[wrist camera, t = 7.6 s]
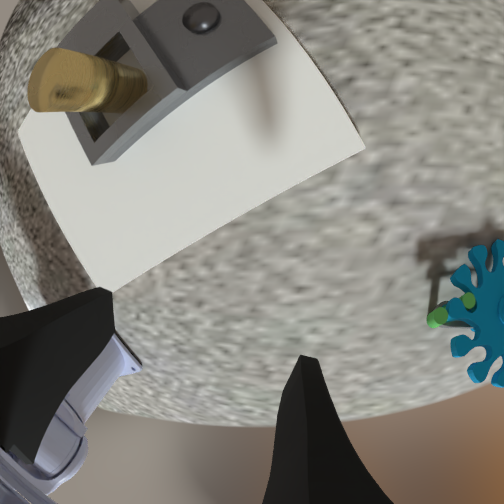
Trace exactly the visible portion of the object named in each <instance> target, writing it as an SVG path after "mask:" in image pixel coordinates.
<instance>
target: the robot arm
mask: <svg viewBox="0 0 504 504" xmlns="http://www.w3.org/2000/svg"><path fill="white" fill-rule="evenodd" d="M141 370H142V366H141V365H140V364H139V362H138V361H137V360H136V359H135V358H134V357H133V355H132V354H131V353H130V352H129V351H128V349H127V348H126V347H125V346H124V345H123V343H122V342H121V341H120V340H119V338H118V337H117V336H116V335H115V325H114V313H113V299H112V292H111V291H109V290H107V289H104V288H102V287H97V288H94V289H90V290H88V291H85V292H82V293H79V294H76V295H74V296H71V297H68V298H66V299H63V300H60V301H57V302H55V303H52V304H49V305H46V306H43V307H39V308H36V309H33V310H30V311H27V312H23V313H19V314H15V315H11V316H6V317H0V504H30V503H28V502H27V500H28V501H30V502H31V503H32V504H58V503H56V502H55V501H54V500H52V499H51V498H49V497H48V496H47V495H49V494H50V493H51V492H54V491H55V490H56V488H58V486H60V485H61V484H62V483H63V482H65V481H67V480H69V479H70V478H72V477H73V476H74V475H75V474H76V473H77V471H78V470H79V469H80V467H81V466H82V464H83V463H84V461H85V459H86V456H87V453H88V441H87V438H86V437H85V436H84V434H85V432H86V431H87V427H86V426H84V423H85V422H86V420H87V419H88V418H89V416H90V415H91V414H92V412H93V411H94V410H95V408H96V407H97V405H98V404H99V403H100V401H101V400H102V399H103V397H104V396H105V394H106V393H107V392H108V390H109V389H110V388H111V386H112V385H113V384H114V382H115V381H116V380H117V378H118V377H120V376H124V375H128V374H132V373H136V372H140V371H141ZM15 490H17V491H18V492H19V493H20V494H21V495H22V496H24V497H25V498H26V499H27V500H25V498H23V497H22V496H21V495H20V494H19V493H17V492H16V491H15ZM262 504H394V503H393V502H392V501H391V500H390V499H389V498H388V497H387V496H386V495H385V493H384V492H383V491H382V489H381V488H380V487H379V485H378V484H377V483H376V481H375V480H374V479H373V478H372V476H371V475H370V473H369V472H368V471H367V469H366V468H365V466H364V464H363V463H362V461H361V460H360V458H359V456H358V455H357V453H356V451H355V449H354V448H353V446H352V444H351V442H350V440H349V438H348V436H347V434H346V432H345V430H344V428H343V426H342V424H341V421H340V419H339V417H338V414H337V412H336V409H335V407H334V404H333V402H332V399H331V397H330V394H329V391H328V389H327V386H326V383H325V380H324V377H323V374H322V371H321V367H320V364H319V361H318V359H316V358H312V357H308V356H304V355H300V356H299V358H298V361H297V363H296V365H295V367H294V369H293V371H292V373H291V375H290V377H289V379H288V381H287V383H286V385H285V387H284V389H283V393H282V397H281V401H280V406H279V410H278V415H277V423H276V433H275V441H274V450H273V458H272V466H271V472H270V477H269V481H268V485H267V488H266V492H265V496H264V499H263V503H262Z"/></svg>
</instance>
